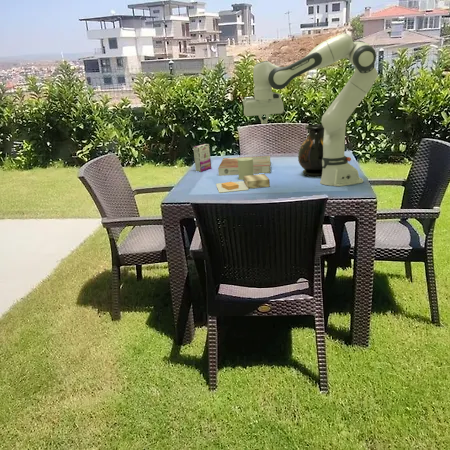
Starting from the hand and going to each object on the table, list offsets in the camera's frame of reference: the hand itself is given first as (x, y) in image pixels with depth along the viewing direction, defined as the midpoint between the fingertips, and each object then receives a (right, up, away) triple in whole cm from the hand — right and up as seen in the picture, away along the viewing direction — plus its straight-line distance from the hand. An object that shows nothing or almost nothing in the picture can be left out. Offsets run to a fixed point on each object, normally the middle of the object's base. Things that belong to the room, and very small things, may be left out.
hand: (264, 123), depth 227 cm
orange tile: (-17, -31, +17) cm, 40 cm away
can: (-7, -24, +37) cm, 45 cm away
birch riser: (-2, -29, +20) cm, 36 cm away
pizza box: (-7, -16, +62) cm, 64 cm away
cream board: (-16, -31, +19) cm, 40 cm away
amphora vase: (+34, -22, +34) cm, 53 cm away
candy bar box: (-34, -15, +68) cm, 78 cm away
